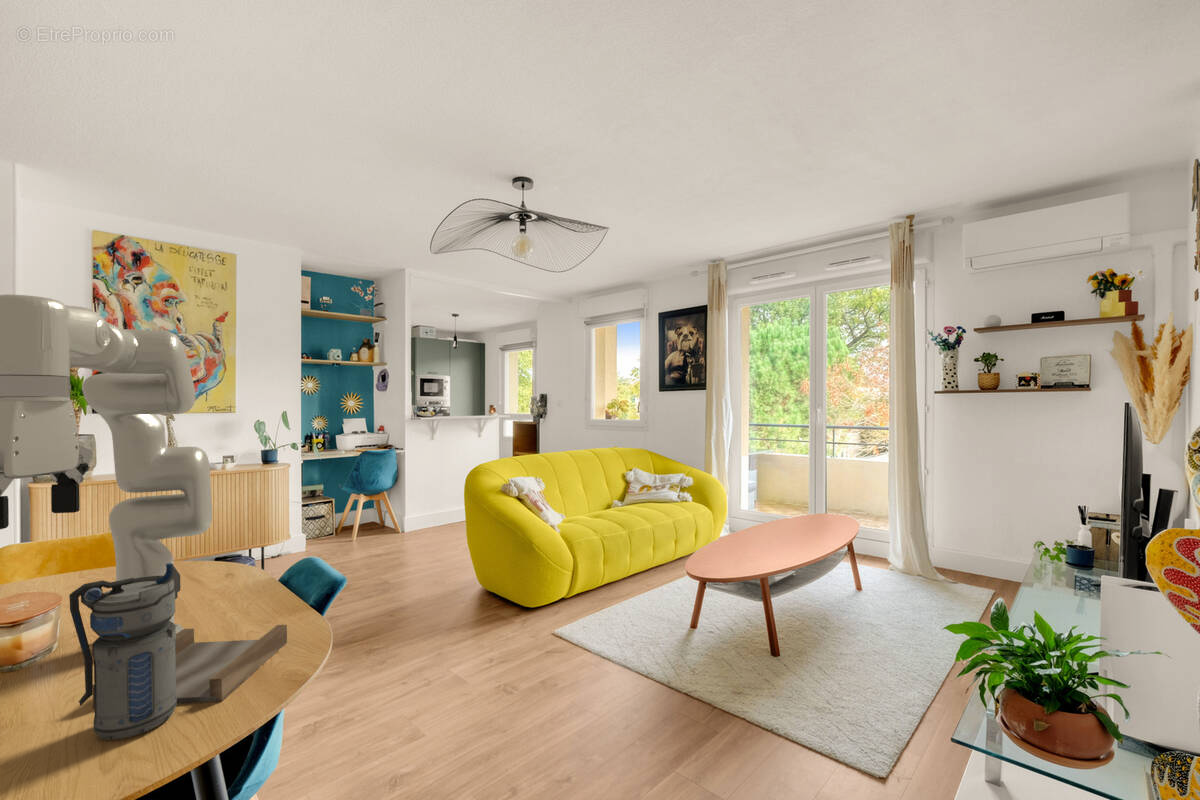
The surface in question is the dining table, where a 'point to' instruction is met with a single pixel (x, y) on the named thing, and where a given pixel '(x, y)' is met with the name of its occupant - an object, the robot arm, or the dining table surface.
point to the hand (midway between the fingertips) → (31, 520)
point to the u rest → (219, 664)
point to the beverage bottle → (129, 652)
